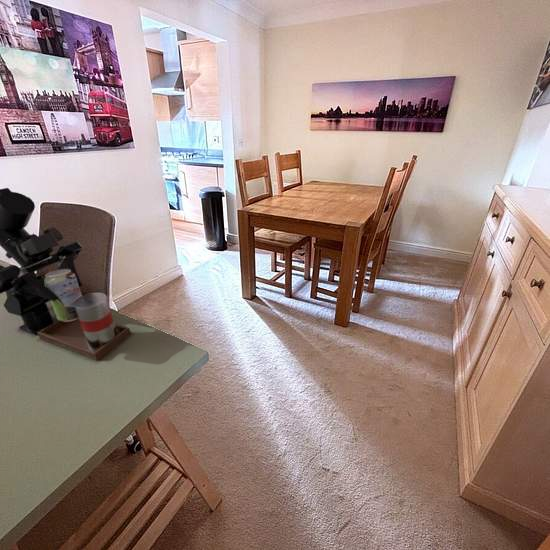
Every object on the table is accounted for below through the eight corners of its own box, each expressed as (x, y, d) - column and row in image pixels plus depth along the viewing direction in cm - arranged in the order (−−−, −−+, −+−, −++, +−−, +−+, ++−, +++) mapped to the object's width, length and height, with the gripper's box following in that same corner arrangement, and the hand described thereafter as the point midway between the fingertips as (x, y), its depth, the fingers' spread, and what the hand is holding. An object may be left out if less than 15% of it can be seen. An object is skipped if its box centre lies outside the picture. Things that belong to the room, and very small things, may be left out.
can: (81, 346, 72) (65, 304, 66) (104, 329, 78) (92, 290, 72) (102, 353, 70) (88, 311, 64) (124, 336, 76) (113, 296, 70)
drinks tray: (39, 339, 75) (36, 332, 74) (77, 316, 83) (74, 310, 82) (97, 360, 69) (94, 353, 68) (131, 334, 77) (129, 327, 76)
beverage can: (82, 324, 70) (74, 276, 66) (46, 325, 68) (36, 276, 64) (91, 311, 76) (85, 266, 72) (58, 312, 74) (50, 266, 70)
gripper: (-26, 234, 55) (39, 297, 57) (66, 208, 71) (114, 258, 73) (-36, 265, 61) (23, 321, 63) (51, 235, 76) (96, 280, 79)
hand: (68, 292), depth 69 cm, fingers closed on beverage can, 6 cm apart
